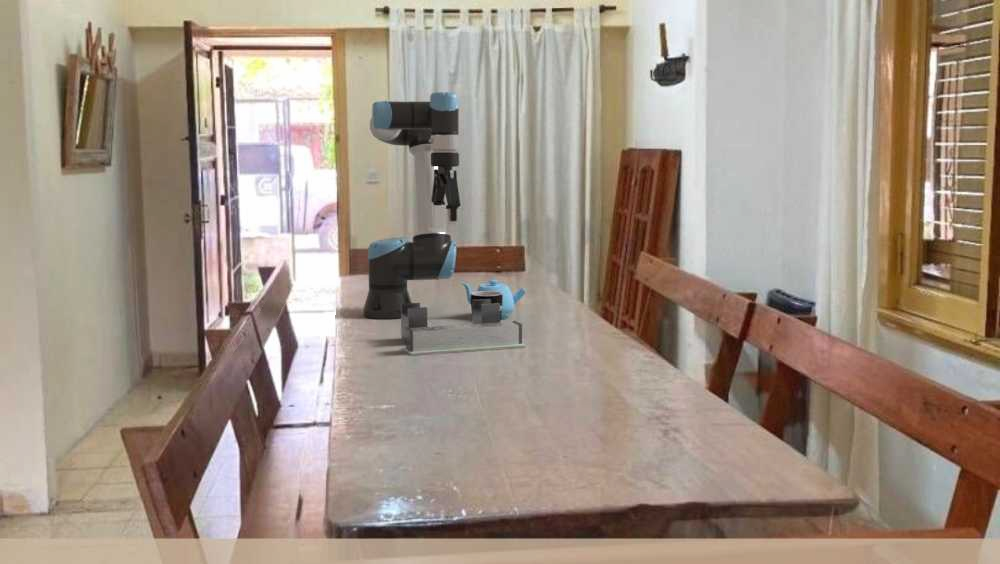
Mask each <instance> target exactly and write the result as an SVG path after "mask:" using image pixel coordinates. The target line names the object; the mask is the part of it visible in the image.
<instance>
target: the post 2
mask: <svg viewBox="0 0 1000 564" xmlns="http://www.w3.org/2000/svg"><path fill="white" fill-rule="evenodd" d="M472 307H473V309H471V316H472V324H483V323H499V322H501V321H500V304H499V303H493V304H491V299H479V300H472Z"/></svg>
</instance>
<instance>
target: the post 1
mask: <svg viewBox="0 0 1000 564" xmlns="http://www.w3.org/2000/svg"><path fill="white" fill-rule="evenodd" d="M400 324H401V325H400V328H401V329H400V330H401V331H400V332H401V333H400V336H401V340H402V341H404V342H405V328H406V327H408V328H420V327H428V307H427V306H426V307H421V303H420V302H412V303H407V304H401V318H400Z"/></svg>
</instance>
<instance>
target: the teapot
mask: <svg viewBox="0 0 1000 564" xmlns="http://www.w3.org/2000/svg"><path fill="white" fill-rule="evenodd" d="M498 282H499V281H498V280H497V279H491V280H489V283H483V284H480V285H479V286H478V288H477V290H476V292H479V291H496V292H501V293H502V294H503V301H502V314H501V320H509V319H508V316H509V315H512V314H513V311H514V309H515V305H516V304H517V303H518V302H519V301H520V300H521V299H522V298H523V297H524V296H525V295H526V294H527V293H528V291H526V290H525V289H524V288H523V287H520V289H519V290H518V291H517V292H516V293H515V295H514V296H513V294H512V292H511V289H510V287H509V285H507V284H505V283H498ZM460 284H462V285H463V287H465V291H466V292H465V293H466V298H467V302H468V303H469V304H470V305H471V293H472V291H471V286H470V285H469V284H468V283H466V282H465V283H464V282H460Z"/></svg>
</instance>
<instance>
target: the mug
mask: <svg viewBox="0 0 1000 564" xmlns="http://www.w3.org/2000/svg"><path fill="white" fill-rule="evenodd" d="M479 299H491V304H493V303H499V304H500V322H502V321H501V320H502V319H501V314H502V301H503V294H502V293H501V292H496V291H479V292H477V291H473V292H471V304H470V306H471V310H472V309H473V307H472V300H479Z"/></svg>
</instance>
